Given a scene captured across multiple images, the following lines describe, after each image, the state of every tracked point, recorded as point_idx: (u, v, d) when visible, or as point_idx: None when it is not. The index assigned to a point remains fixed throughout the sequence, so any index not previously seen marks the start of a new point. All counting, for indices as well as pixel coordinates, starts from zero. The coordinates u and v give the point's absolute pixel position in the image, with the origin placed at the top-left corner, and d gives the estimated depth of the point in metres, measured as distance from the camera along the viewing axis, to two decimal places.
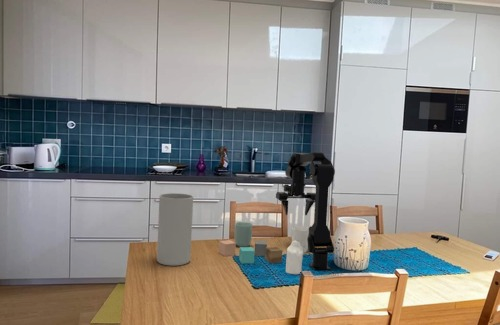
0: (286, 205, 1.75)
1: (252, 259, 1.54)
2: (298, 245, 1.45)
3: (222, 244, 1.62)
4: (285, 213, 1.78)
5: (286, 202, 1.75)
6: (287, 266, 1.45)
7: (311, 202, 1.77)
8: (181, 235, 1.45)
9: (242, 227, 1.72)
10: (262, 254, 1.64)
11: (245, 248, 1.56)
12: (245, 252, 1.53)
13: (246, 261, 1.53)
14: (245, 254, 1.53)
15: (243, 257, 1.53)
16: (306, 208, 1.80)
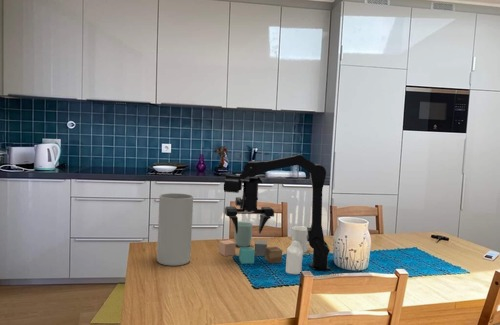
0: (235, 222, 1.51)
1: (252, 259, 1.54)
2: (298, 245, 1.45)
3: (222, 244, 1.62)
4: None
5: (235, 219, 1.50)
6: (287, 266, 1.45)
7: (265, 218, 1.53)
8: (181, 235, 1.45)
9: (242, 227, 1.72)
10: (262, 254, 1.64)
11: (245, 248, 1.56)
12: (245, 252, 1.53)
13: (246, 261, 1.53)
14: (245, 254, 1.53)
15: (243, 257, 1.53)
16: (260, 225, 1.56)
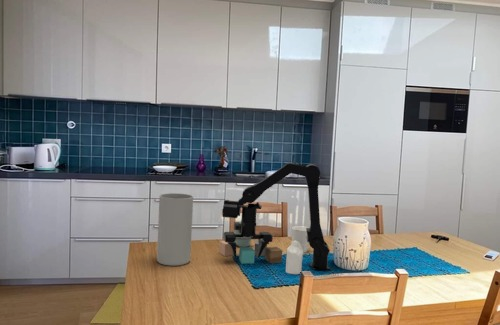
0: (234, 248, 1.52)
1: (252, 259, 1.54)
2: (298, 245, 1.45)
3: (222, 244, 1.62)
4: (234, 256, 1.55)
5: (234, 245, 1.51)
6: (287, 266, 1.45)
7: (263, 244, 1.54)
8: (181, 235, 1.45)
9: None
10: (262, 254, 1.64)
11: (245, 248, 1.56)
12: (245, 252, 1.53)
13: (246, 261, 1.53)
14: (245, 254, 1.53)
15: (243, 257, 1.53)
16: (258, 250, 1.56)
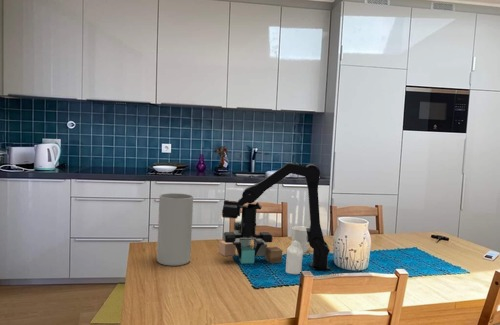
0: (239, 248, 1.52)
1: (252, 259, 1.54)
2: (298, 245, 1.45)
3: (222, 244, 1.62)
4: None
5: (238, 245, 1.52)
6: (287, 266, 1.45)
7: (258, 244, 1.53)
8: (181, 235, 1.45)
9: None
10: (262, 254, 1.64)
11: (245, 248, 1.56)
12: (245, 252, 1.53)
13: (246, 261, 1.53)
14: (245, 254, 1.53)
15: (243, 257, 1.53)
16: None
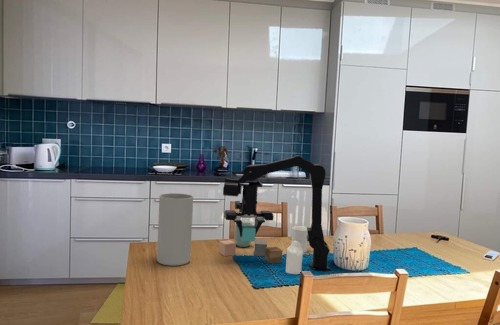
0: (240, 226, 1.52)
1: (253, 237, 1.53)
2: (298, 245, 1.45)
3: (222, 244, 1.62)
4: None
5: (239, 223, 1.51)
6: (287, 266, 1.45)
7: (259, 222, 1.53)
8: (181, 235, 1.45)
9: None
10: (262, 254, 1.64)
11: (246, 226, 1.55)
12: (246, 229, 1.52)
13: (247, 239, 1.53)
14: (246, 232, 1.52)
15: (244, 235, 1.52)
16: None
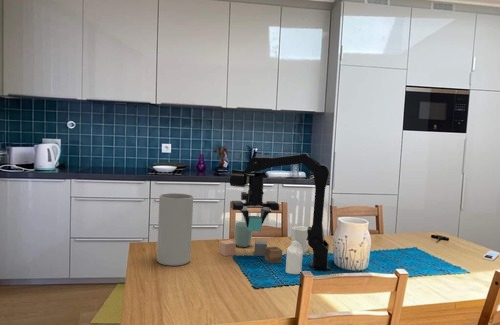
0: (246, 216, 1.55)
1: (259, 227, 1.56)
2: (298, 245, 1.45)
3: (222, 244, 1.62)
4: (246, 225, 1.58)
5: (246, 213, 1.54)
6: (287, 266, 1.45)
7: (265, 212, 1.56)
8: (181, 235, 1.45)
9: (242, 227, 1.72)
10: (262, 254, 1.64)
11: (252, 216, 1.59)
12: (253, 219, 1.55)
13: (253, 228, 1.56)
14: (252, 222, 1.55)
15: (250, 224, 1.55)
16: None
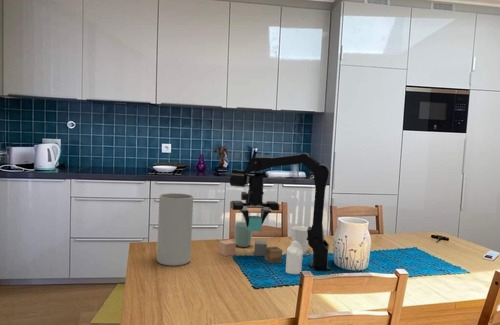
0: (246, 216, 1.55)
1: (259, 227, 1.56)
2: (298, 245, 1.45)
3: (222, 244, 1.62)
4: (246, 225, 1.58)
5: (246, 212, 1.54)
6: (287, 266, 1.45)
7: (265, 212, 1.56)
8: (181, 235, 1.45)
9: (242, 227, 1.72)
10: (262, 254, 1.64)
11: (252, 216, 1.59)
12: (253, 219, 1.56)
13: (253, 228, 1.56)
14: (252, 221, 1.56)
15: (250, 224, 1.55)
16: None
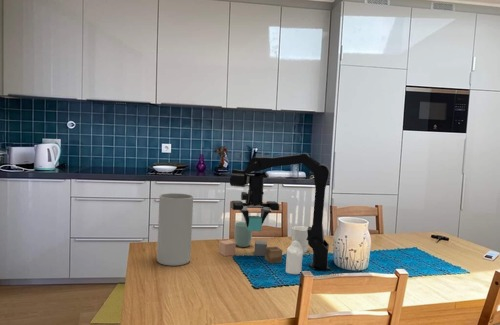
0: (246, 216, 1.55)
1: (259, 227, 1.56)
2: (298, 245, 1.45)
3: (222, 244, 1.62)
4: (246, 225, 1.58)
5: (246, 212, 1.54)
6: (287, 266, 1.45)
7: (265, 212, 1.56)
8: (181, 235, 1.45)
9: (242, 227, 1.72)
10: (262, 254, 1.64)
11: (252, 216, 1.59)
12: (253, 219, 1.56)
13: (253, 228, 1.56)
14: (252, 221, 1.56)
15: (250, 224, 1.55)
16: None
